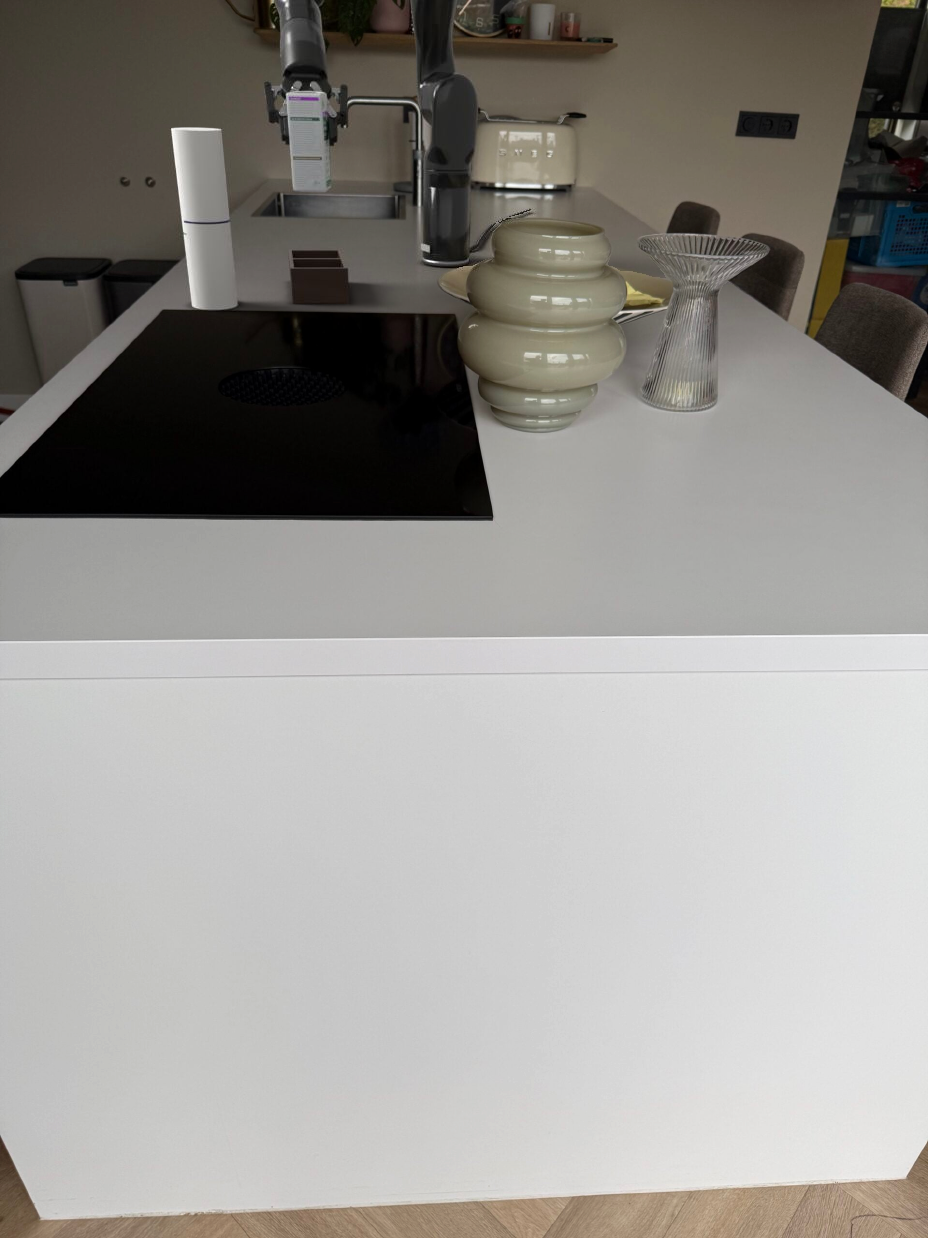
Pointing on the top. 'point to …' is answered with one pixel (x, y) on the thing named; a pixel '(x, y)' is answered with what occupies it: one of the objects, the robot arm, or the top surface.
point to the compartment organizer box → (318, 276)
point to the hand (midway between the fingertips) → (309, 141)
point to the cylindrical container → (205, 217)
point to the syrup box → (309, 141)
